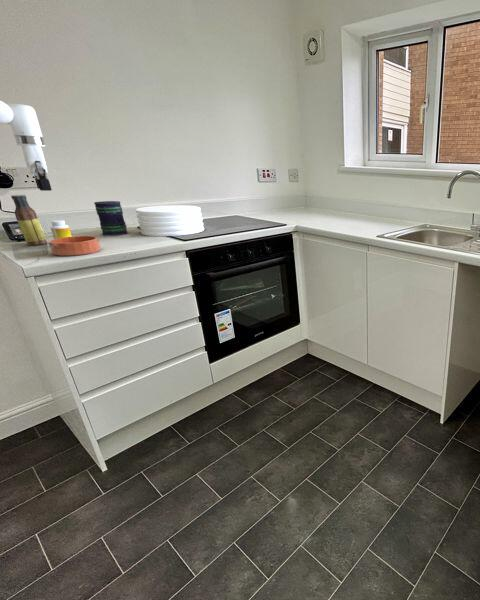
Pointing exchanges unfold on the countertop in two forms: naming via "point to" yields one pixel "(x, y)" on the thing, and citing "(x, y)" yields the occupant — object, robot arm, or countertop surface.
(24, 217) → the sauce bottle
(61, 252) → the bowl
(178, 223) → the plate stack
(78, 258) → the countertop surface
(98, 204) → the storage jar
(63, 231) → the supplement bottle
